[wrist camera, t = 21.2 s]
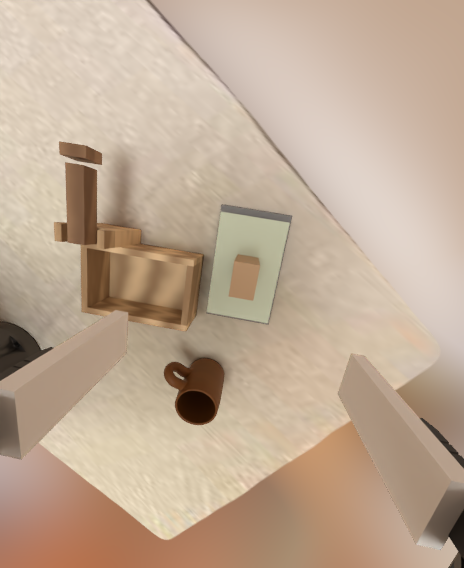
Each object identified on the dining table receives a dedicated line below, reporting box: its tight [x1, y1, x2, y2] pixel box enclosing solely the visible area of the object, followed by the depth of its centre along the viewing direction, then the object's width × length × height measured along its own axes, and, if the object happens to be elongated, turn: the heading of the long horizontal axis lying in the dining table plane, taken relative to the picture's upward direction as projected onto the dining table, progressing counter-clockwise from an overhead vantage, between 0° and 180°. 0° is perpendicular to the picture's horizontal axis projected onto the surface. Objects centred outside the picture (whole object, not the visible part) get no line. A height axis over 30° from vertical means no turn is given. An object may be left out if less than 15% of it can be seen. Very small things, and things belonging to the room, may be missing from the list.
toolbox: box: [54, 222, 204, 331], centre depth 37 cm, size 19×14×10 cm
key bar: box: [59, 142, 102, 245], centre depth 30 cm, size 3×12×3 cm, turn 171°
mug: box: [164, 358, 224, 425], centre depth 42 cm, size 12×8×9 cm, turn 43°
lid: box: [207, 212, 290, 323], centre depth 35 cm, size 18×11×10 cm, turn 171°
